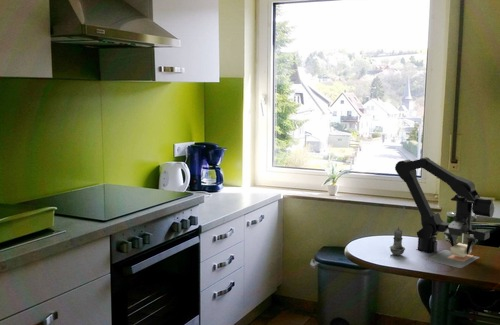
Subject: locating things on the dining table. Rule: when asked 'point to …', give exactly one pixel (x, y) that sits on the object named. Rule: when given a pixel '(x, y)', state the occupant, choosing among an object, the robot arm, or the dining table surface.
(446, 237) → the beer can
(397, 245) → the grey tower figurine
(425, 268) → the dining table surface
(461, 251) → the cream block
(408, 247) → the dining table surface
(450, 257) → the mat
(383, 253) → the dining table surface
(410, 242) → the dining table surface
